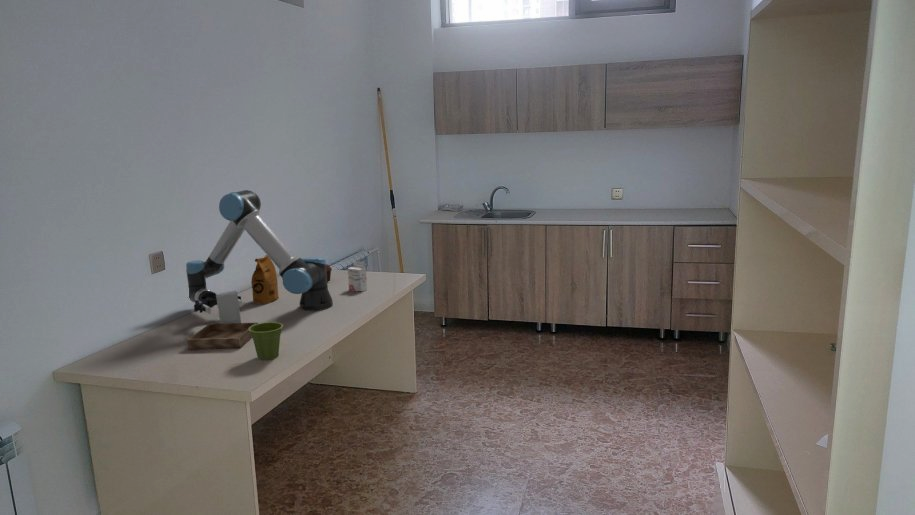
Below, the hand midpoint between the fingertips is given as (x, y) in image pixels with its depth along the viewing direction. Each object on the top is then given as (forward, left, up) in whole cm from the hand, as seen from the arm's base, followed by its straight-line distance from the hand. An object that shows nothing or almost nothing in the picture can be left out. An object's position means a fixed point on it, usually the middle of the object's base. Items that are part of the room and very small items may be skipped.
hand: (225, 307), depth 256 cm
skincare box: (-2, +1, -9) cm, 9 cm away
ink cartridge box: (-45, -57, -9) cm, 73 cm away
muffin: (-21, -78, -9) cm, 81 cm away
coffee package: (-3, -40, -9) cm, 41 cm away
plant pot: (-31, +38, -9) cm, 50 cm away
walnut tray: (-7, +19, -8) cm, 22 cm away
